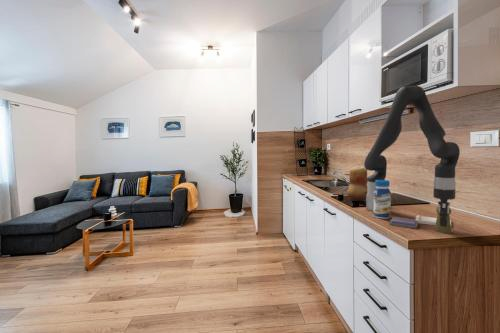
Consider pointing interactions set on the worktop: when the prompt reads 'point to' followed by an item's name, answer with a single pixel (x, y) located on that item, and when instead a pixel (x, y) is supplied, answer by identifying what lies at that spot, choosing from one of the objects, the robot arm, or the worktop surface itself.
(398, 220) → the ink pad
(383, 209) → the beverage bottle
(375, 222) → the worktop surface
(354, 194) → the butternut squash
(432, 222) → the marked board
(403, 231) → the worktop surface
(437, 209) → the olive rounded piece
